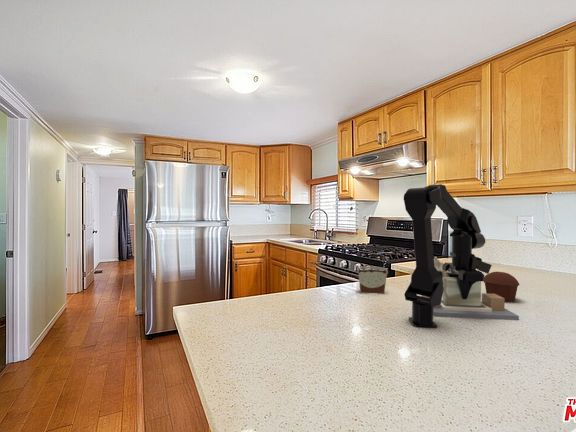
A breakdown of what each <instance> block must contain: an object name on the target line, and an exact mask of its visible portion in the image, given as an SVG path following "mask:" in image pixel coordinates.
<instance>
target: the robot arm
mask: <svg viewBox="0 0 576 432" xmlns="http://www.w3.org/2000/svg"><path fill="white" fill-rule="evenodd" d="M403 202H404V208H405V211H406V213H407V214H408V215H409V217H410V218H411V220H412V235H413V245H414V247H413V248H414V256H415V257H414V258H415V269H414V270H413V272H412V274H411V277H410V283H409V285H408V287H407V288H406V290H405V292H404V298H405V301H408V302H411V317H408V321H409V322H410V323H411V325H412V326H413V327H420V328H421V327H422V328H439V327H438V324H437V323H436V322H435V320H434V316H433V307H434V306H437V305H440V304H441V300H442V299H443V290H444V287H443V285H444V284H443V274H442V272H441V271H438V270H437V269H436V268H435V266H434V257H435V256H434V244H433V232H432V231H433V230H432V229H433V227H432V216H433V214H434V213H435V211H436V209H437V207H438V209H440V210H441V211H442V213H444V215H445V216H446V217H447V219H446V223H447V225H449V227H450V229H451V230H452V232H450V233H449V237H451V241H452V244H451V251H449V256H451V262H443V265H442V270H443V271H447V270H448V273H446V274H447V276H448V277H454V278H456V280H457V284H458V286H459V290H460V293H461V296H462V298H463V299H467V297H468V294H469V292H470V289H471V287H472V285H473V284H474V283H475V282H478V281H481V282H484V277H485V274H486V275H487V274H489V273H490V270H491V269H492V266H493V265H492V264H490V263H487V262H485V261H483V259H482V258H480V257H479V256H476V254H474V253H473V250H474V249H481V248H483V247H484V246H485V243H486V238H485V236H484V234H482V230H481V228H480V227H481V226H480V225H479V221H478V219H477V217H476V215H475V213H473V212H472V211H471V210H469V209H468V208H467V209H466V208H463V207H462V206H460V204H459V203H458V202H457V201H456V200H455V198H454V197H453V196H452V195H451V194H450V192H449V191H448V189H447V186H446V185H444V184H442V183H439V184H428V185H426V186H424V187H413V188H410V187H409V188H408V189H407V190H406V192H405V193H404V194H403ZM484 273H485V274H484ZM422 296H426V297H430V298H426V297H422Z"/></svg>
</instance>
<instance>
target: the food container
mask: <svg viewBox="0 0 576 432" xmlns="http://www.w3.org/2000/svg"><path fill="white" fill-rule="evenodd" d="M356 274H358V281H359V291H360V294H368V293H377V294H376V295H385V293H386V292H385V291H386V284H387V275H389V270H388V268H386V267H381V266H373V265H372V266H371V265H370V266H369V265H368V266H366V265H365V266H359V267H357V271H356Z"/></svg>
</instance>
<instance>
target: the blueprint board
mask: <svg viewBox="0 0 576 432" xmlns="http://www.w3.org/2000/svg"><path fill="white" fill-rule="evenodd" d="M421 296H422V295H421ZM422 297H426V296H422ZM426 298H430V297H426ZM505 303H506V302H505V298H502V297H500V296H498V295H496V294H488V293H486V292H481V306H468V305H448V304H446V303H445V302H444V301H443V298H442V300H441V304H440V305H437V306H434V307H433V317H442V318H443V317H448V318H449V317H450V318H466V319H467V318H469V319H488V320H492V319H493V320H509V321H510V320H515V321H519V320H520V315H518V314H516V313H515V312H512V311H511V310H509V309H507V308H505Z"/></svg>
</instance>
